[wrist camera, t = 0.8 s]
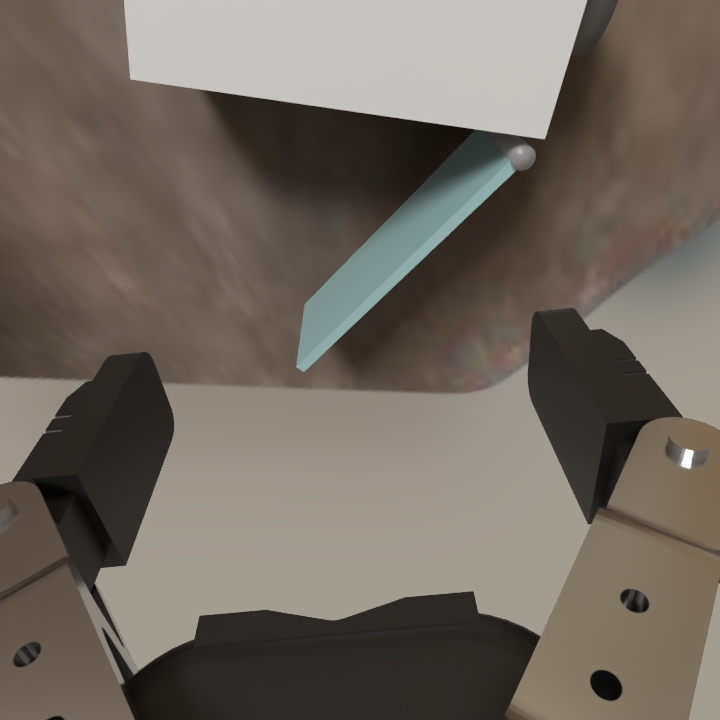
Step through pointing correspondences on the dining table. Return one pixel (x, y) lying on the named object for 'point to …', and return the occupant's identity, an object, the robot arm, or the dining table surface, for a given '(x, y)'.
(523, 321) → the dining table surface
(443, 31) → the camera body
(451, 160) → the door
